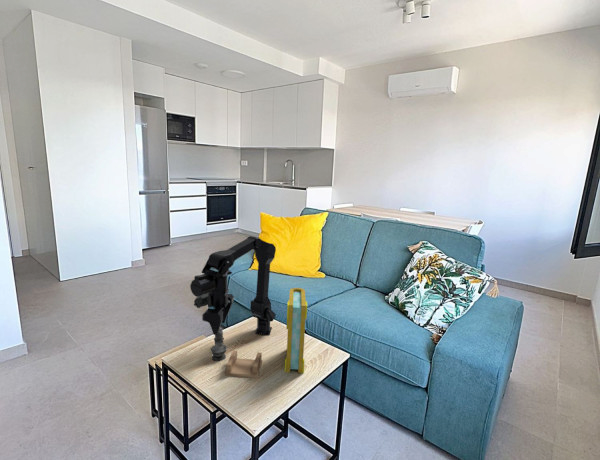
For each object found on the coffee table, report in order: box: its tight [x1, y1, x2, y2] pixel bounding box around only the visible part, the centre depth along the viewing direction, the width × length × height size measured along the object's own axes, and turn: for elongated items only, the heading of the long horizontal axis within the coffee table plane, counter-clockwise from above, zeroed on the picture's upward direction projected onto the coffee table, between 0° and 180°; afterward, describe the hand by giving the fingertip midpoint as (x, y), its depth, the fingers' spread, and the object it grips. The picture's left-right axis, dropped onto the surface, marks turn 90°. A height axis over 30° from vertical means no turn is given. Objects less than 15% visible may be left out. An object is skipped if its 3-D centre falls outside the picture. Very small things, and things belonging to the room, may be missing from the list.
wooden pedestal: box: [224, 350, 263, 379], centre depth 115 cm, size 9×11×4 cm
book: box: [284, 287, 308, 374], centre depth 121 cm, size 17×7×25 cm, turn 0°
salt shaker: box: [210, 327, 228, 362], centre depth 121 cm, size 6×6×12 cm
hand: (219, 328), depth 120 cm, fingers open, 9 cm apart
